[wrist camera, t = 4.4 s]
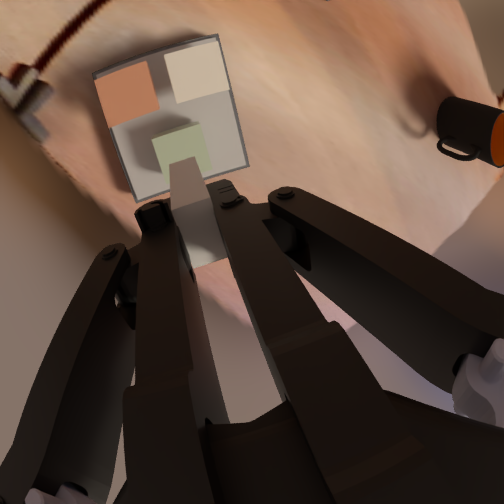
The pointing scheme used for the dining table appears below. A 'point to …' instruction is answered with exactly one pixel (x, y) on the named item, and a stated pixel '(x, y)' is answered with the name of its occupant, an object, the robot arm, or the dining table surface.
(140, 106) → the terracotta key
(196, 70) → the cream key
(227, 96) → the keypad
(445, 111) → the mug
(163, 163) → the sage key
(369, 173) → the dining table surface
